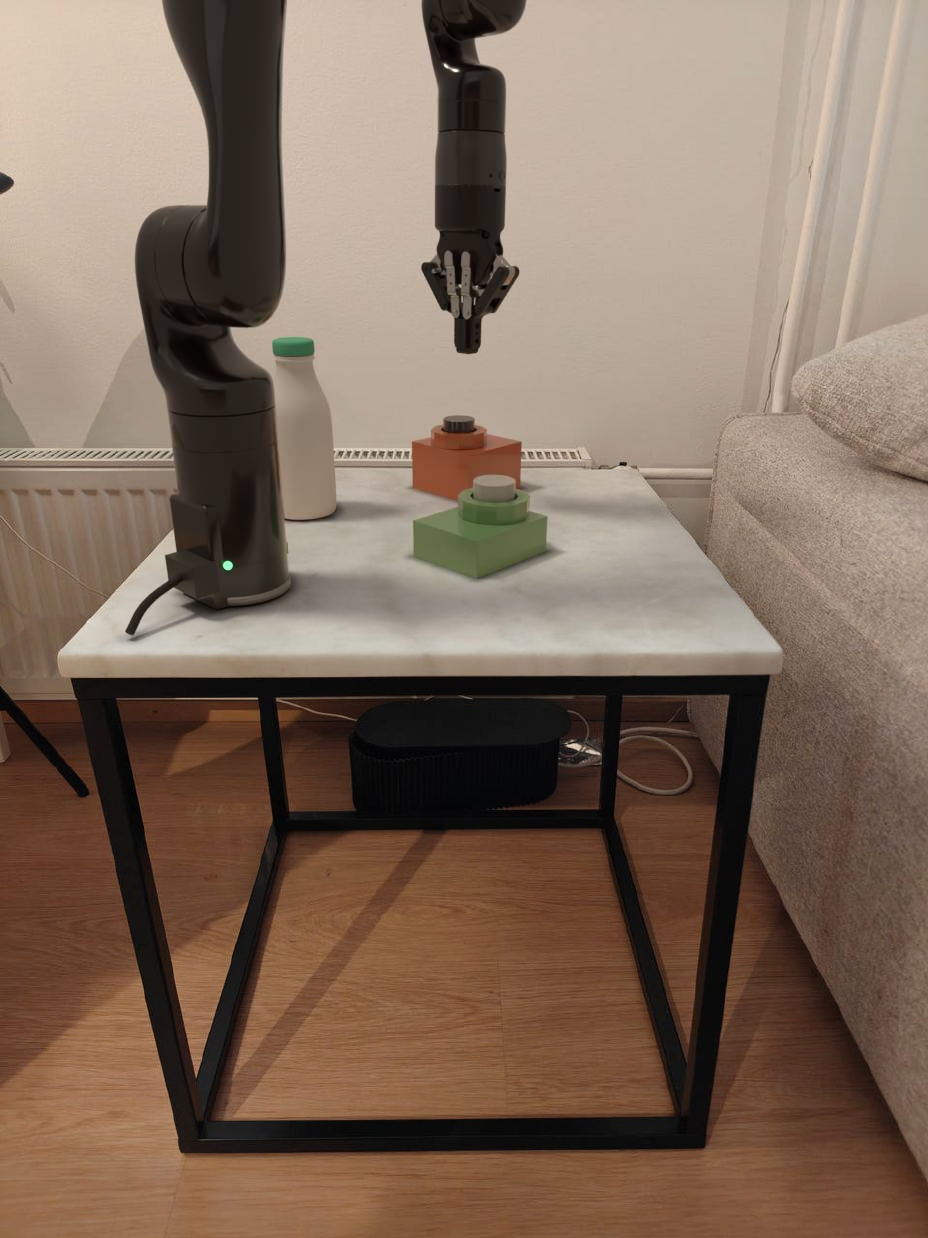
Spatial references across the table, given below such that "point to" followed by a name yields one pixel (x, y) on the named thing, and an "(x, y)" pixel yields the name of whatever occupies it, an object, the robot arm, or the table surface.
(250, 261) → the robot arm
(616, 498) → the table surface
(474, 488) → the light grey push button
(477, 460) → the terracotta push button housing
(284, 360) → the milk bottle
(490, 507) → the green push button housing
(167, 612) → the table surface
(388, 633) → the table surface
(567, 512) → the table surface
